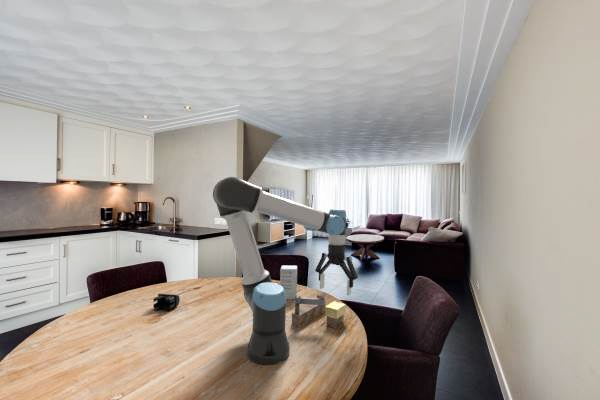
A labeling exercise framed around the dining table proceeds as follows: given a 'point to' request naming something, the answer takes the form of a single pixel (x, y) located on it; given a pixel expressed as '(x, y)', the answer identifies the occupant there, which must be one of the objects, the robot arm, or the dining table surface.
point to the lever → (309, 300)
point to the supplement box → (289, 280)
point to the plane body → (306, 313)
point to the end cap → (166, 302)
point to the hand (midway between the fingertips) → (335, 291)
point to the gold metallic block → (335, 310)
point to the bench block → (334, 321)
